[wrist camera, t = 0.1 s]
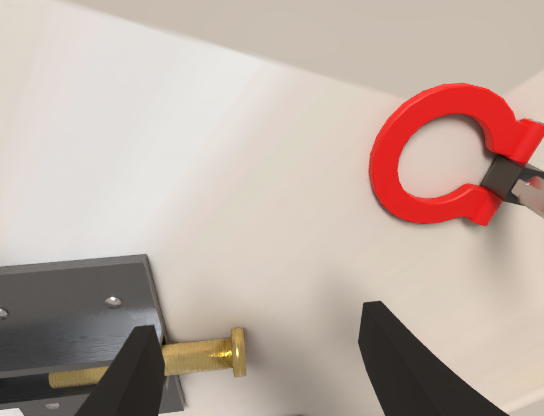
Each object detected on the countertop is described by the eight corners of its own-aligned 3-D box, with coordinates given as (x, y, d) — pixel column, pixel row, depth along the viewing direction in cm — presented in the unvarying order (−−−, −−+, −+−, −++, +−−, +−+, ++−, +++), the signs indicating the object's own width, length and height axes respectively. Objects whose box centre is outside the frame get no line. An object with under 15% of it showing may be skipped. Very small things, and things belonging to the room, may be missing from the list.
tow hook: (346, 201, 22) (472, 227, 24) (450, 392, 11) (677, 418, 12) (401, 63, 18) (547, 106, 20) (650, 136, 7) (939, 221, 9)
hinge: (184, 401, 30) (180, 436, 27) (30, 420, 29) (12, 457, 26) (145, 254, 22) (135, 284, 19) (-69, 272, 21) (-108, 307, 18)
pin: (245, 347, 27) (247, 386, 24) (73, 366, 26) (54, 409, 23) (242, 318, 25) (243, 356, 23) (59, 337, 24) (37, 379, 22)
